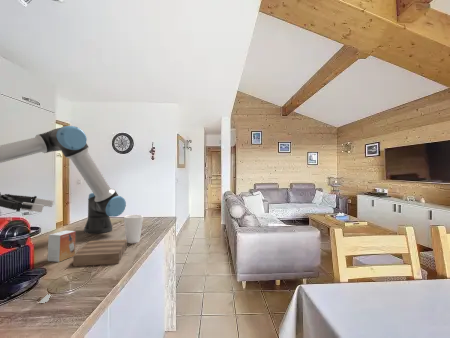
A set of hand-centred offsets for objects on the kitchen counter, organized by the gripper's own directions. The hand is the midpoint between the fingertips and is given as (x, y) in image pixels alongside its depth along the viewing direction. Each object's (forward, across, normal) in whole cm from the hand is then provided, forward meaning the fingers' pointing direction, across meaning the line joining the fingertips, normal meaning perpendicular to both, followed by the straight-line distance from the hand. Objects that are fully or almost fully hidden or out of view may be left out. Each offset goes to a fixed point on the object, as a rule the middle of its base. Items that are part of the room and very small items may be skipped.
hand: (48, 206), depth 101 cm
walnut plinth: (+25, +5, -16) cm, 30 cm away
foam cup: (+37, -14, -14) cm, 42 cm away
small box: (+10, +3, -20) cm, 22 cm away
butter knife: (+14, +28, -19) cm, 37 cm away
